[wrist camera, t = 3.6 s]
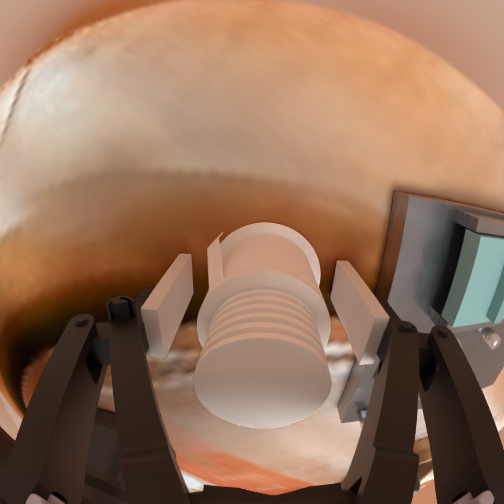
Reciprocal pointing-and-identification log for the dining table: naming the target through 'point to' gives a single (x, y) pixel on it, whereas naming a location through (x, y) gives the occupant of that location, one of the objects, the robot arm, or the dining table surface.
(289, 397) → the downlight
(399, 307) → the housing board
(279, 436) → the dining table surface
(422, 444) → the wooden caddy
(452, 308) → the cover
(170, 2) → the dining table surface
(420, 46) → the dining table surface
